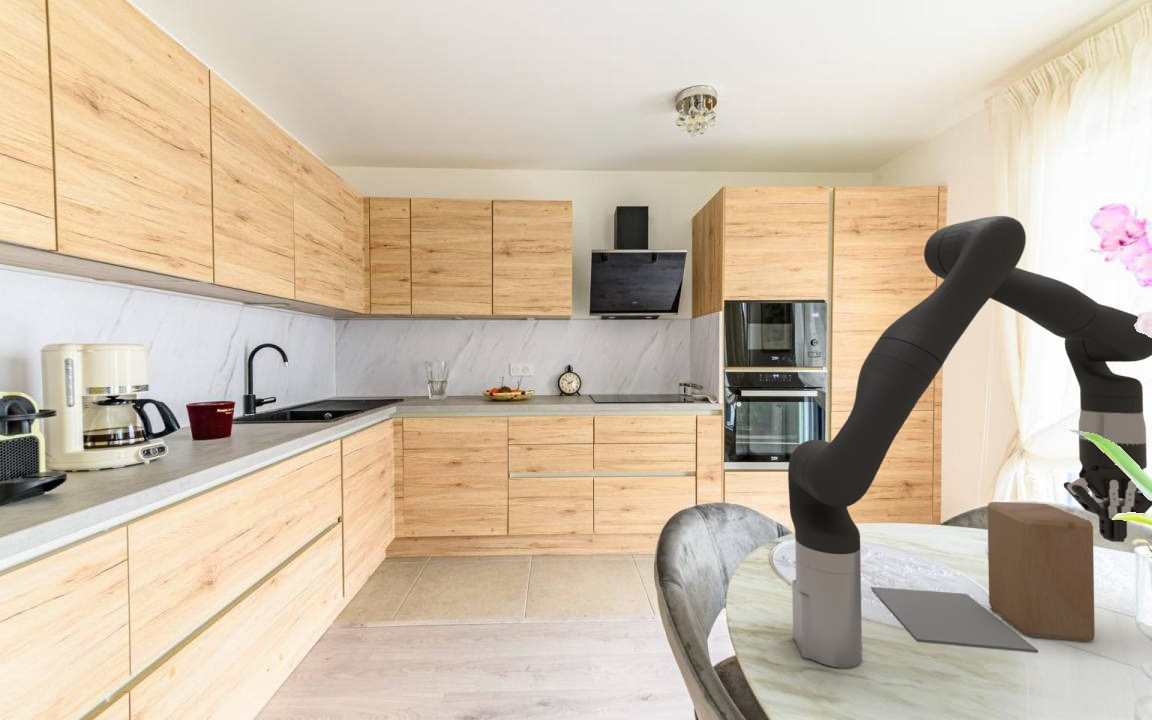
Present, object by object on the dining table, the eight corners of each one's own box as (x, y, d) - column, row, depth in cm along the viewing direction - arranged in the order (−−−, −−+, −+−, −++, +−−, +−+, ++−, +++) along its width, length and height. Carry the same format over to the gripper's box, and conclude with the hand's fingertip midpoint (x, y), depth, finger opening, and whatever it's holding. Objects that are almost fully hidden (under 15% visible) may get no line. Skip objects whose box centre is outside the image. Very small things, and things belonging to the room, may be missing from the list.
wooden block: (1098, 644, 76) (1096, 521, 76) (1025, 638, 78) (1024, 517, 78) (1049, 612, 85) (1047, 502, 85) (986, 607, 87) (984, 499, 87)
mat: (917, 641, 77) (916, 638, 77) (870, 588, 95) (870, 586, 95) (1037, 652, 74) (1037, 649, 74) (966, 595, 92) (966, 593, 92)
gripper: (1084, 441, 77) (1086, 546, 77) (1183, 442, 74) (1185, 551, 74) (1047, 434, 84) (1049, 530, 84) (1136, 435, 82) (1138, 534, 82)
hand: (1113, 540), depth 79 cm, fingers closed
